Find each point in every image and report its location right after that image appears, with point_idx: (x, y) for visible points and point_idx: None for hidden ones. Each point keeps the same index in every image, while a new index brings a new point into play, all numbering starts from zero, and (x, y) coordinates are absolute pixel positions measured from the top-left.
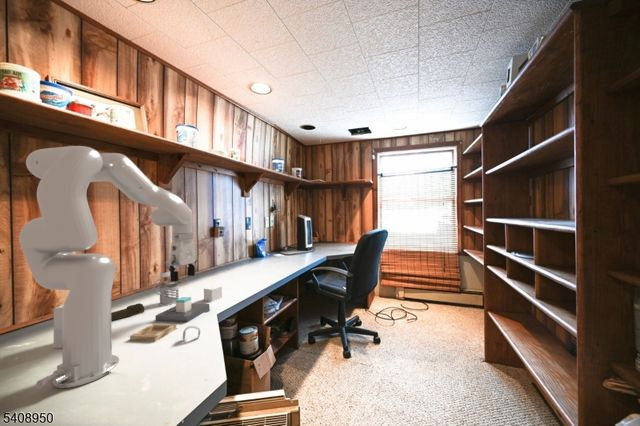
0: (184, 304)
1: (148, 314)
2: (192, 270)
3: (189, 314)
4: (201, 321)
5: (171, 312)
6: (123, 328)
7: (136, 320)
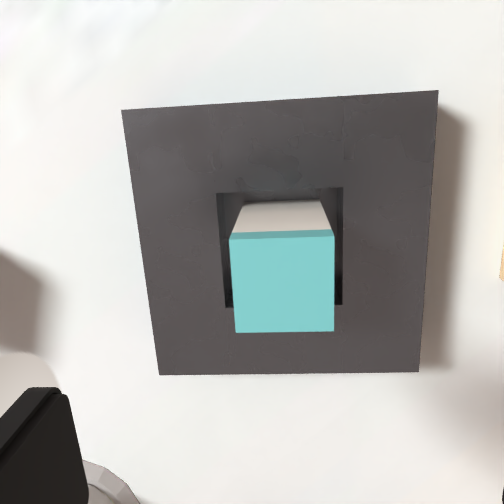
0: (329, 225)
1: (276, 487)
2: (3, 498)
3: (389, 108)
4: (353, 12)
5: (354, 301)
6: (479, 462)
7: (367, 482)
